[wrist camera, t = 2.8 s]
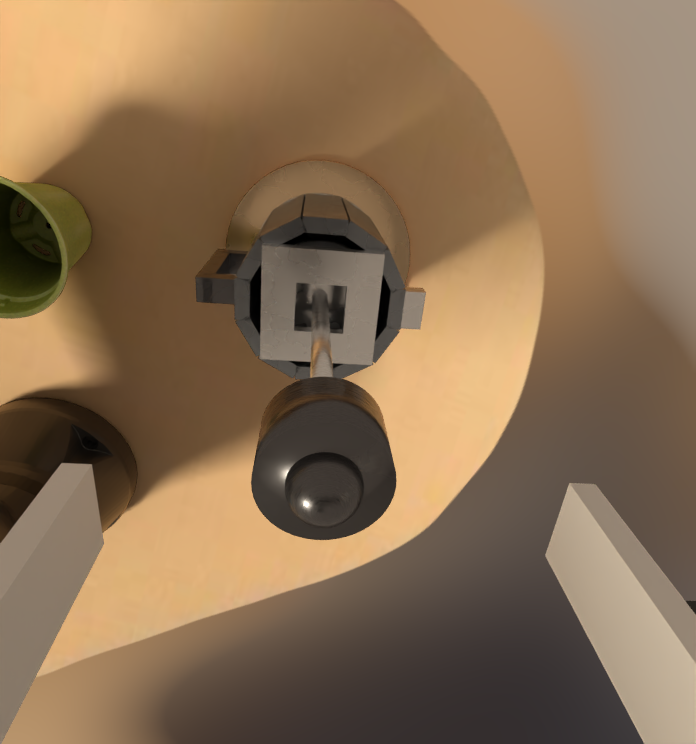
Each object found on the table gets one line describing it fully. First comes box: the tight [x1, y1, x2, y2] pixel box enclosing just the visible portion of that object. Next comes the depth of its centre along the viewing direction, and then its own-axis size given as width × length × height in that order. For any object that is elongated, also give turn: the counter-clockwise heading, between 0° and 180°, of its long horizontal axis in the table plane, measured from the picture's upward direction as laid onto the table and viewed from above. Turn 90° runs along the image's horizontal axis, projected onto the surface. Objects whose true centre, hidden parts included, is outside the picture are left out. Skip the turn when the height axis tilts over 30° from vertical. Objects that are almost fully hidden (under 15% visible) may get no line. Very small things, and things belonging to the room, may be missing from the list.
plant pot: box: [0, 176, 92, 319], centre depth 36 cm, size 9×9×9 cm
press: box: [196, 160, 426, 379], centre depth 37 cm, size 15×15×13 cm
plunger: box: [251, 239, 396, 540], centre depth 24 cm, size 7×7×21 cm
